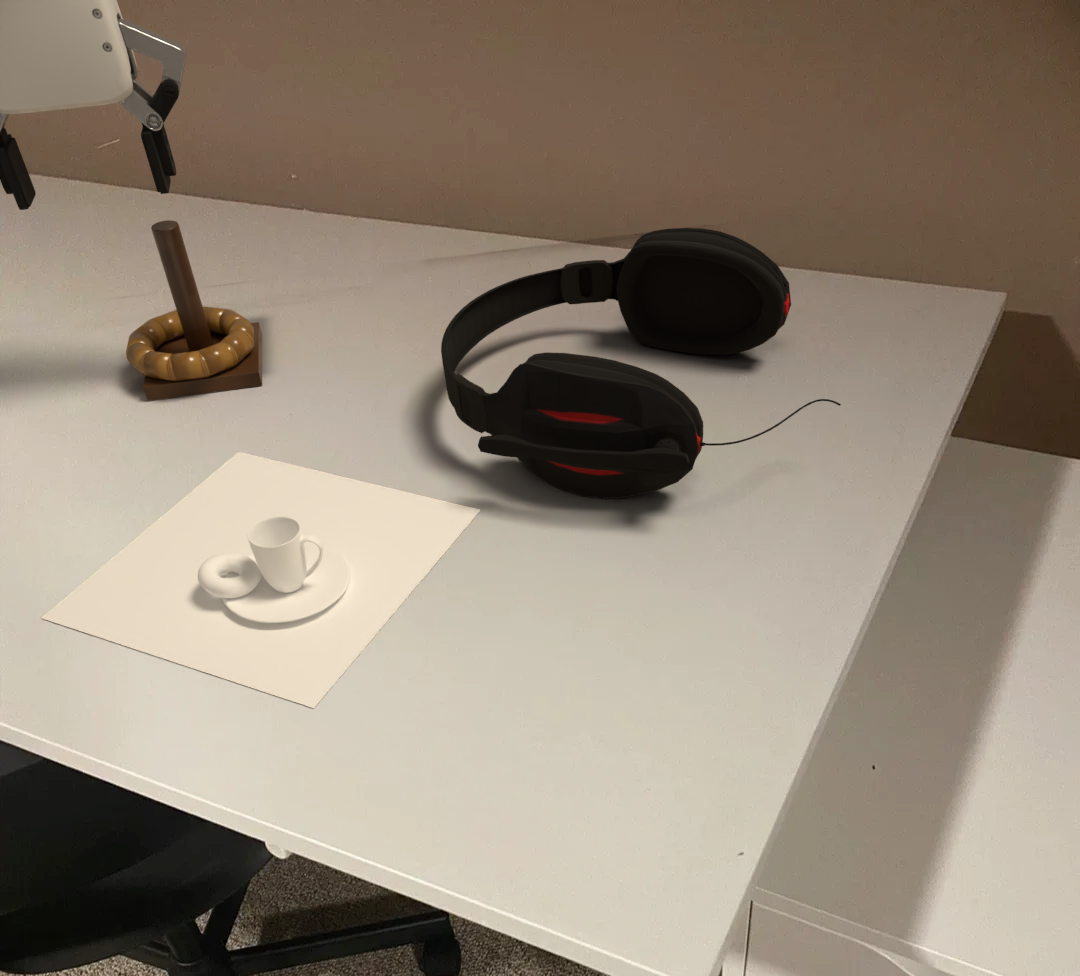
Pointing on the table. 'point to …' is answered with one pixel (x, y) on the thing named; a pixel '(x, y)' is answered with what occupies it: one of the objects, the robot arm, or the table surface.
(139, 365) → the ring
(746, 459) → the table surface
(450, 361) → the headset
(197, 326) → the rack
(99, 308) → the table surface
